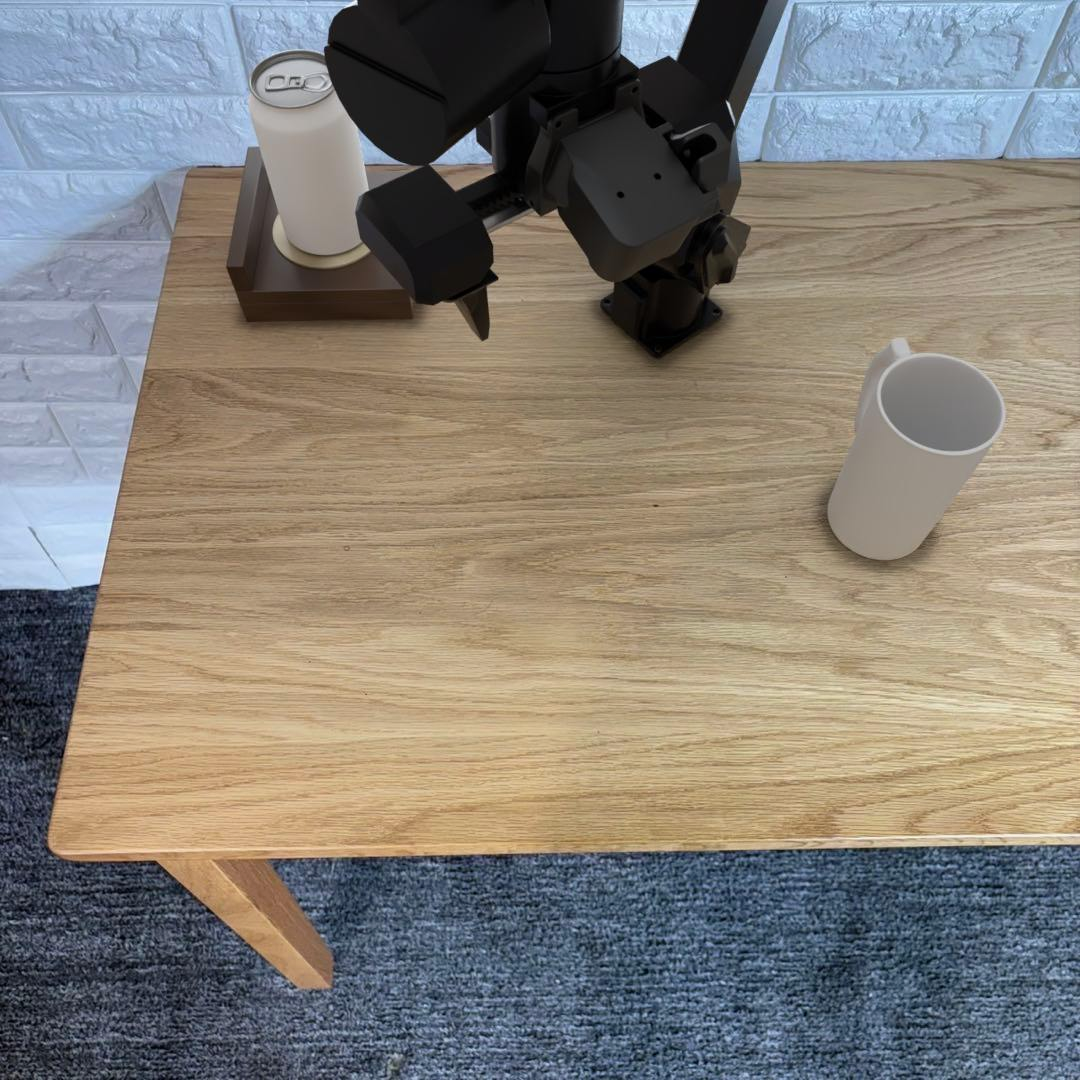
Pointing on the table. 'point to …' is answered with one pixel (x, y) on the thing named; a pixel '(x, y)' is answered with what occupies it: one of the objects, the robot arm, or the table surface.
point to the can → (308, 151)
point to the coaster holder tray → (303, 264)
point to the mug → (911, 448)
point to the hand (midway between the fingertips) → (549, 299)
